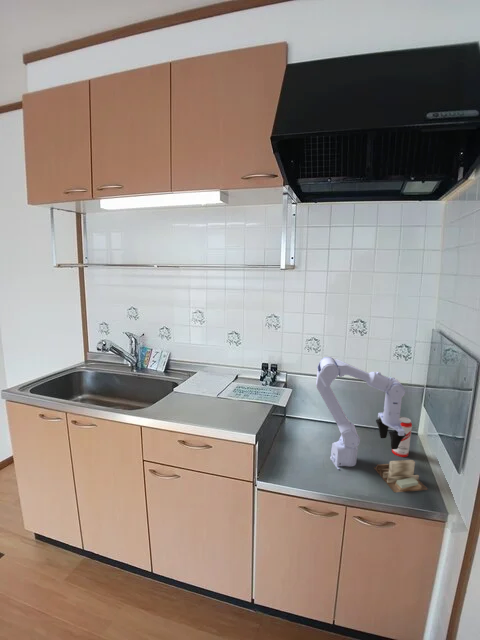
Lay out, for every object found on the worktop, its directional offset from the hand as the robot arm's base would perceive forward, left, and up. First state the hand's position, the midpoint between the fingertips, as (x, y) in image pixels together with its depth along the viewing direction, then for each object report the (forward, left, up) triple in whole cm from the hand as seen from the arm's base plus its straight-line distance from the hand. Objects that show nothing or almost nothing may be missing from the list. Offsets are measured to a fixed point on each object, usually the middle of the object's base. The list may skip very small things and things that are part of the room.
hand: (388, 443), depth 129 cm
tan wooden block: (+1, -8, -9) cm, 13 cm away
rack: (+1, -8, -10) cm, 13 cm away
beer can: (+11, +7, -11) cm, 17 cm away
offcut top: (0, -13, -8) cm, 15 cm away
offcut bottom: (+1, -13, -9) cm, 16 cm away
